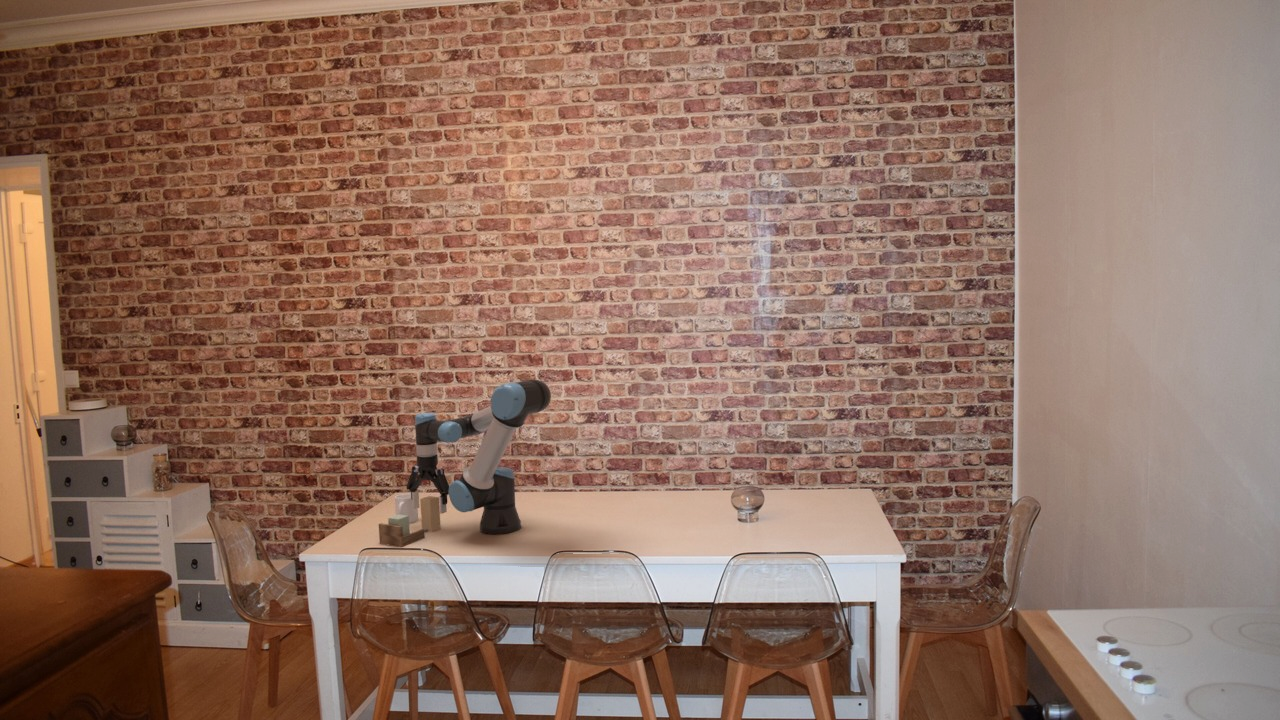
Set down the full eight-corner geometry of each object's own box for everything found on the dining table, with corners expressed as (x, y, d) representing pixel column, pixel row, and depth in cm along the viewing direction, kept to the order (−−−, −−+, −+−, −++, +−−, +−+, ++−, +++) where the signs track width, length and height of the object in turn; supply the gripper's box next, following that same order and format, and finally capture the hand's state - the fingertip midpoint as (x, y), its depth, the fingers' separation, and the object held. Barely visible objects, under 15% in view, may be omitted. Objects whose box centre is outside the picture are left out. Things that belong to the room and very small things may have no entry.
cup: (421, 518, 326) (419, 493, 325) (411, 527, 314) (409, 500, 313) (400, 518, 326) (399, 493, 326) (389, 527, 314) (388, 501, 314)
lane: (424, 537, 299) (423, 518, 299) (401, 546, 289) (400, 527, 289) (403, 534, 304) (402, 515, 304) (379, 543, 294) (378, 524, 294)
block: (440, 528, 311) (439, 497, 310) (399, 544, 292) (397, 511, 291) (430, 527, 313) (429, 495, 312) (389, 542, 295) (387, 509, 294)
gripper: (459, 455, 305) (461, 511, 307) (409, 450, 317) (412, 504, 319) (445, 459, 298) (448, 517, 300) (395, 453, 310) (397, 509, 312)
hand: (429, 510), depth 309 cm, fingers open, 13 cm apart
